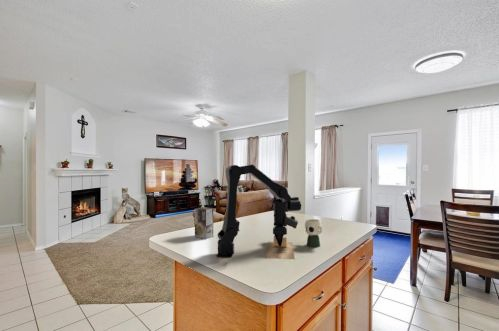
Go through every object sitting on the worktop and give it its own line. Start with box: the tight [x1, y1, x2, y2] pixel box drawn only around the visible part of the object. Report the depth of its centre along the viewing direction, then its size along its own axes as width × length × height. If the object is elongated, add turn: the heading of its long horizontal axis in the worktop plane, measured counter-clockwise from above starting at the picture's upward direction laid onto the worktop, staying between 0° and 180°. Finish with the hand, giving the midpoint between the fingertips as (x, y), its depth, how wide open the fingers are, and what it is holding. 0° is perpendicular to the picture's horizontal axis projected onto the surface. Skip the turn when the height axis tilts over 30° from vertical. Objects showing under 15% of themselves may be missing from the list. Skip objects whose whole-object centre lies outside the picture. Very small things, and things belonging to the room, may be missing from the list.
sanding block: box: [273, 235, 288, 247], centre depth 109 cm, size 6×4×4 cm, turn 82°
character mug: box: [304, 218, 323, 248], centre depth 110 cm, size 11×7×13 cm, turn 29°
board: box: [265, 241, 296, 260], centre depth 104 cm, size 12×22×1 cm, turn 172°
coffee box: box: [194, 206, 214, 240], centre depth 129 cm, size 9×6×16 cm
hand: (280, 244), depth 109 cm, fingers closed on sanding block, 4 cm apart
